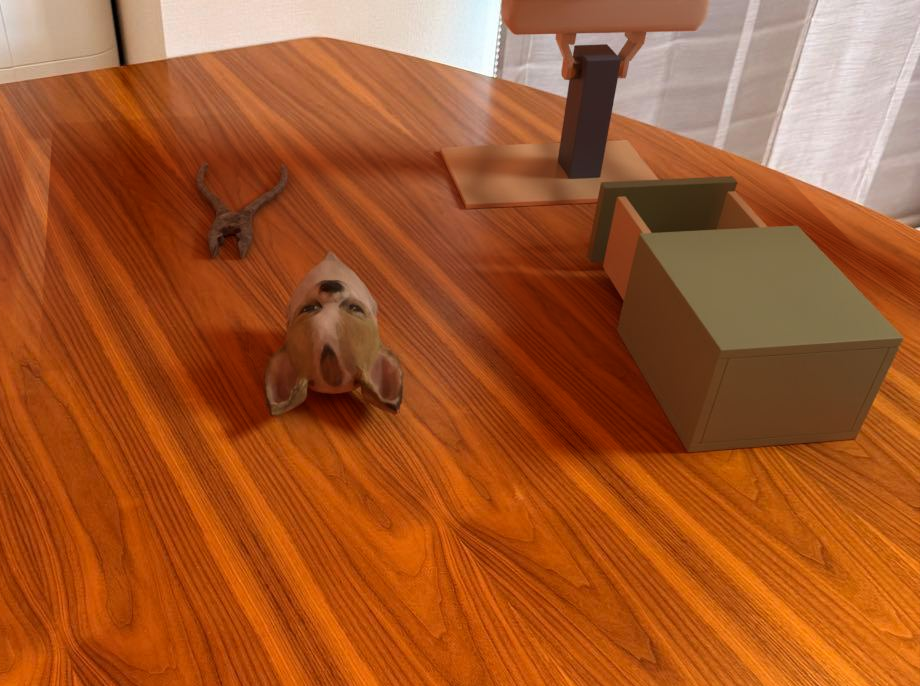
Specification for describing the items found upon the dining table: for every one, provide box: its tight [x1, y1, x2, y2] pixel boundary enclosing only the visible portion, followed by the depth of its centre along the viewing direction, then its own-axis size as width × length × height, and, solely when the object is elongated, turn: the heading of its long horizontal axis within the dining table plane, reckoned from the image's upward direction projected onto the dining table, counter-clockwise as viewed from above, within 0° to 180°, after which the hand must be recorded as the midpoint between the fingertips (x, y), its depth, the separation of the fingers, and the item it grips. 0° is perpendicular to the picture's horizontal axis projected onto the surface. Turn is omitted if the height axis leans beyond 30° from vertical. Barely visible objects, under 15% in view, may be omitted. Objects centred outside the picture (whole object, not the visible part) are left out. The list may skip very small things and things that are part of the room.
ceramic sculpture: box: [262, 251, 404, 418], centre depth 75 cm, size 11×9×15 cm
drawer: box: [586, 175, 768, 302], centre depth 86 cm, size 20×12×7 cm, turn 9°
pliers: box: [195, 161, 289, 259], centre depth 98 cm, size 10×1×20 cm
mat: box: [439, 139, 660, 210], centre depth 106 cm, size 22×14×1 cm, turn 99°
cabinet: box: [616, 225, 904, 454], centre depth 76 cm, size 17×14×9 cm
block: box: [558, 43, 621, 179], centre depth 102 cm, size 4×4×12 cm
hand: (593, 77), depth 99 cm, fingers closed on block, 3 cm apart
